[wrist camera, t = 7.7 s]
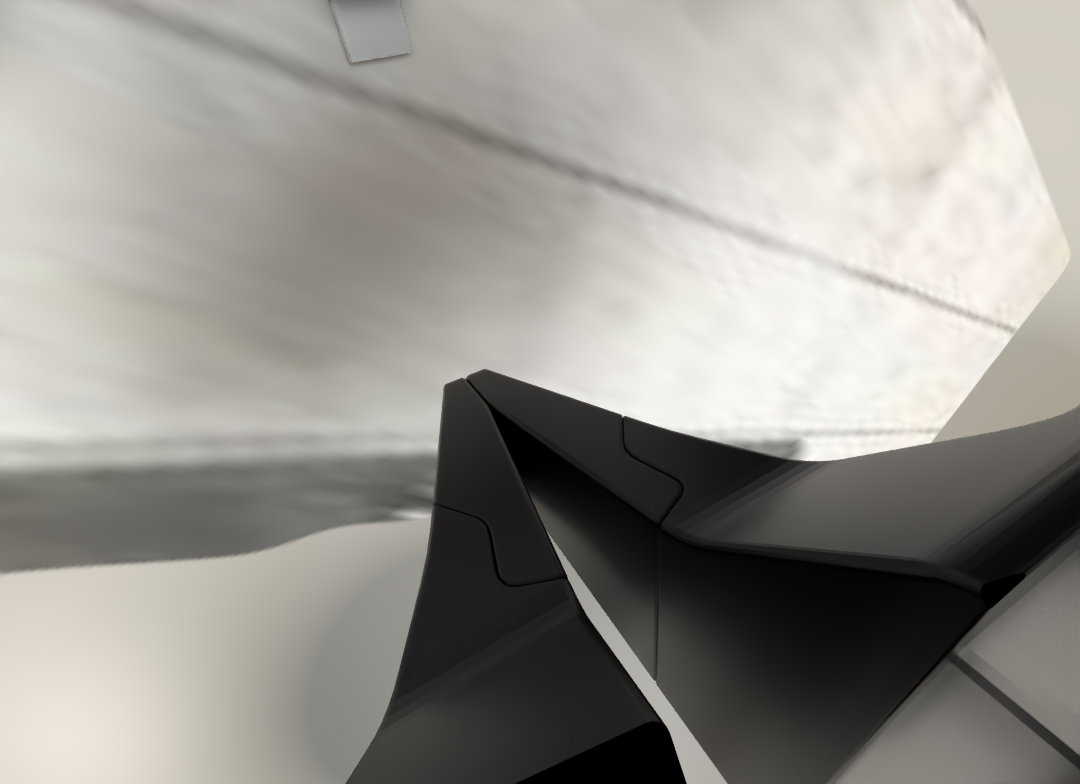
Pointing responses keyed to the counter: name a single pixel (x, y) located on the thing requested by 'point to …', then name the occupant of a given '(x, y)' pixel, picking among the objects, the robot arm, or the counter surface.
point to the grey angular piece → (371, 28)
